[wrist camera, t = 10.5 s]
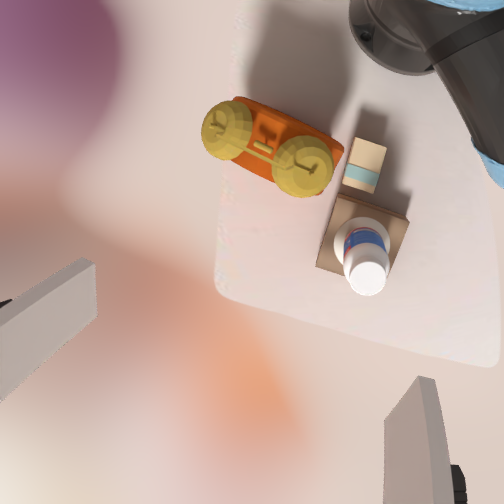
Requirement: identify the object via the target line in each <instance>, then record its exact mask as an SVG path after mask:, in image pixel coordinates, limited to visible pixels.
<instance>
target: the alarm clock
mask: <svg viewBox="0 0 504 504" xmlns="http://www.w3.org/2000/svg"><path fill="white" fill-rule="evenodd" d="M201 136H202V141H203V144H204V146H205V148H206V150H207V151H208V152H209V153H210V154H211V155H213V156H215V157H216V158H219V159H221V160H231V161H233V162H234V163H236V164H238V165H240V166H242V167H243V168H245V169H247V170H249V171H251V172H252V173H254V174H257V175H259V176H261V177H263V178H265V179H267V180H269V181H271V182H274V183H276V184H277V186H278V187H279V188H280V189H281V190H282V191H284V192H286V193H287V194H289V195H291V196H294V197H299V198H305V197H311V196H313V195H320V194H321V193H322V192H323V190H324V189H325V188H326V186H327V185H328V184H329V182H330V181H331V179H332V176H333V173H334V170H335V168H336V166H337V164H338V162H339V160H340V158H341V156H342V155H343V153H344V147H343V146H342V145H341V143H339V142H338V141H336V140H334V139H333V138H331V137H329V136H328V135H326V134H324V133H322V132H320V131H318V130H316V129H315V128H313V127H311V126H309V125H307V124H305V123H303V122H301V121H299V120H297V119H295V118H292V117H290V116H288V115H286V114H284V113H282V112H279V111H277V110H275V109H273V108H270V107H268V106H266V105H263V104H261V103H258V102H256V101H253V100H251V99H248V98H245V97H239V96H236V97H235V98H234V99H233V100H232V101H224V102H221V103H219V104H218V105H216V106H214V107H213V108H212V109H211V110H210V111H209V112H208V113H207V115H206V117H205V119H204V121H203V124H202V130H201Z"/></svg>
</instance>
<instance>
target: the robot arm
mask: <svg viewBox="0 0 504 504" xmlns="http://www.w3.org/2000/svg"><path fill="white" fill-rule="evenodd" d="M349 23H350V28H351V31H352V34H353V36H354V38H355V40H356V42H357V43H358V45H359V46H360V47H361V49H362V50H363V51H364V52H365V53H366V54H367V55H368V56H369V57H370V58H371V59H372V60H374V61H375V62H376V63H378V64H379V65H381V66H383V67H384V68H386V69H389V70H391V71H393V72H396V73H400V74H404V75H410V76H421V75H427V74H430V73H433V72H437V74H438V75H439V77H440V79H441V80H442V82H443V84H444V85H445V87H446V89H447V91H448V92H449V94H450V96H451V98H452V99H453V101H454V103H455V105H456V107H457V109H458V110H459V112H460V114H461V116H462V118H463V120H464V122H465V124H466V126H467V128H468V130H469V132H470V134H471V141H472V144H473V146H474V148H475V150H476V151H477V152H478V154H479V155H480V157H481V159H482V161H483V163H484V165H485V167H486V170H487V172H488V174H489V175H490V177H491V178H492V179H493V180H494V181H495V183H497V184H498V185H499V186H500V187H502V188H503V189H504V0H351V2H350V6H349ZM96 317H97V301H96V278H95V263H94V262H91V261H89V260H87V259H85V258H80V259H78V260H77V261H75V262H74V263H71V264H70V265H68V266H66V267H65V268H63V269H62V270H60V271H58V272H57V273H55V274H53V275H52V276H50V277H48V278H47V279H45V280H44V281H42V282H40V283H39V284H37V285H36V286H34V287H32V288H31V289H29V290H28V291H26V292H25V293H23V294H21V295H20V296H18V297H17V298H15V299H14V300H12V299H10V300H6V301H3V302H0V403H1V401H3V400H4V399H5V398H6V397H7V396H8V395H9V394H10V393H11V392H12V391H13V390H15V389H16V388H17V387H18V386H19V385H20V384H21V383H22V382H23V381H24V380H25V379H27V377H29V376H30V375H31V374H32V373H33V372H34V371H35V370H36V369H38V368H39V367H40V366H41V365H42V364H43V363H44V362H45V361H47V360H48V359H49V358H50V357H51V356H52V355H53V354H54V353H56V352H57V351H58V350H59V349H60V348H61V347H62V346H64V345H65V344H66V343H67V342H68V341H69V340H70V339H71V338H73V337H74V336H75V335H76V334H77V333H78V332H80V331H81V330H82V329H83V328H84V327H86V326H87V325H88V324H89V323H90V322H91V321H93V320H94V319H95V318H96ZM384 445H385V446H384V449H385V450H384V453H385V454H384V492H383V504H467V493H466V483H465V477H464V475H463V473H462V471H461V469H460V467H459V465H450V459H449V452H448V445H447V439H446V433H445V427H444V422H443V417H442V411H441V406H440V402H439V397H438V393H437V388H436V384H435V380H434V379H431V378H426V377H422V376H418V377H417V378H416V379H415V381H414V382H413V384H412V385H411V386H410V388H409V389H408V390H407V392H406V393H405V394H404V396H403V397H402V398H401V400H400V401H399V403H398V404H397V405H396V406H395V408H394V409H393V410H392V411H391V413H390V414H389V415H388V416H387V418H386V419H385V420H384Z"/></svg>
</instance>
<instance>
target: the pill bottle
mask: <svg viewBox="0 0 504 504" xmlns="http://www.w3.org/2000/svg"><path fill="white" fill-rule="evenodd" d="M389 269H390V262H389V258H388V255H387V251H386V248H385V245H384V242H383V239H382V237H381V235H380V234H379V233H378V232H377V231H376V230H374V229H373V228H370V227H358V228H355V229H353V230H352V231H351V232H350V233H349V234H348V235H347V236H346V238H345V241H344V253H343V270H344V274H345V276H346V278H347V280H348V281H349V282H350V284H351V286H352V288H353V289H354V290H355V291H356V292H357V293H359V294H362V295H373V294H376V293H378V292H379V291H380V290H381V289H382V288H383V287H384V285H385V283H386V278H387V276H388V273H389Z"/></svg>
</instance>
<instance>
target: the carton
mask: <svg viewBox="0 0 504 504" xmlns="http://www.w3.org/2000/svg"><path fill="white" fill-rule="evenodd" d="M386 150H387V148H386V147H383V146H380V145H378V144H375V143H372V142H369V141H366V140H363V139H360V138H357V137H354V140H353V144H352V147H351V151H350V154H349V158H348V161H347V164H346V167H345V170H344V175H343V179H342V184H345V185H348V186H351V187H354V188H357V189H360V190H363V191H366V192H369V193H372V194H373V192H374V189H375V186H376V185H377V181H378V178H379V175H380V174H379V173H380V170H381V167H382V163H383V160H384V157H385V153H386Z"/></svg>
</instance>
